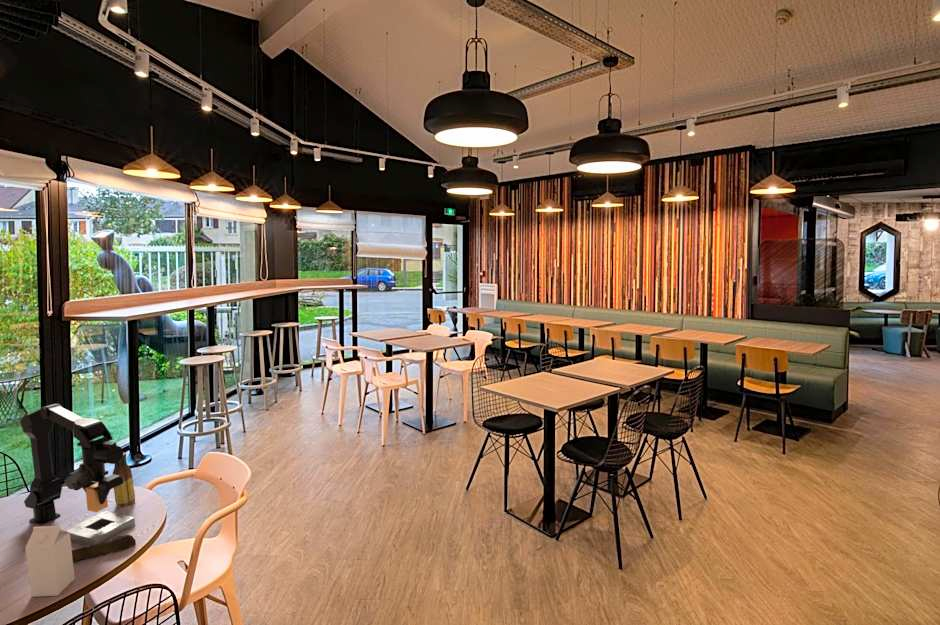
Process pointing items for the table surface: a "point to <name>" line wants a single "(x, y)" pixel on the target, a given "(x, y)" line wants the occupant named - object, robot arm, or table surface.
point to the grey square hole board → (113, 527)
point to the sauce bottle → (124, 484)
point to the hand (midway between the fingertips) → (97, 502)
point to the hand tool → (104, 547)
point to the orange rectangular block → (94, 499)
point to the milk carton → (49, 561)
